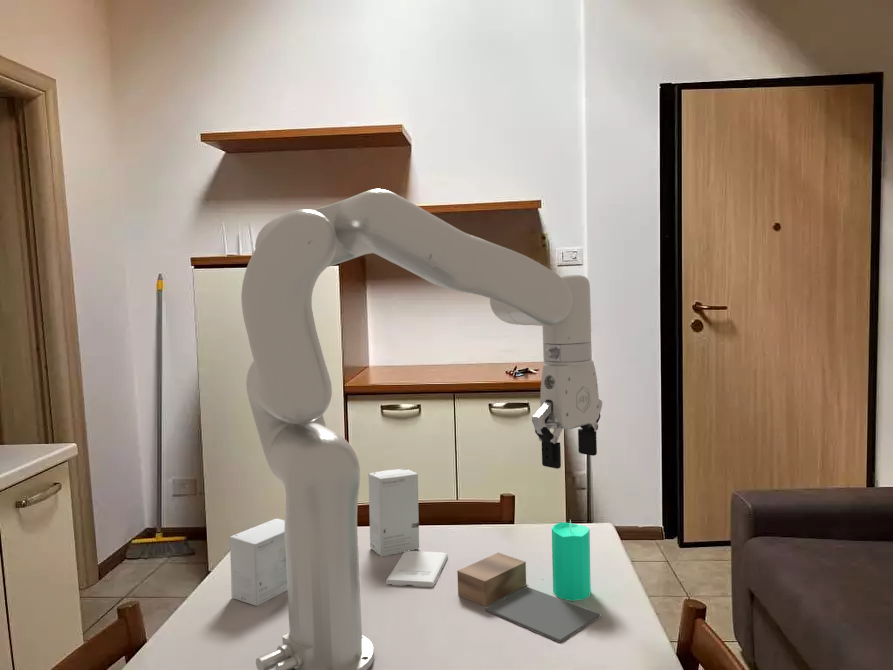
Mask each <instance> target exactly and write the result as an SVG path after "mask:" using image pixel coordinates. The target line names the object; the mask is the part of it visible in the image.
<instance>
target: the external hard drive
mask: <svg viewBox="0 0 893 670" xmlns="http://www.w3.org/2000/svg"><path fill="white" fill-rule="evenodd" d="M447 560H448V553H447V552H440V551H439V552H438V551H422V550H420V551H419V550H410V551H405V552H403V554H402V556H401V557H400V558H399V560H398V562H396V564H395V566H394V568H393V569H392V571H391V572H390V574H389V575H388V577H387V578H386V580H385V581H386V584H392V585H391V586H402V585H406V586H412V585H413V587H420V586H421V587H423V588H434V587H433V586H435V585H436V582H437V581H436V580H438V579H437V578H439V577H438V576H440V575H439V574H441V573H440V572H442V571H441V570H443V569H442V568H444V566H445V564H446V562H447ZM386 584H385V585H386ZM434 584H435V585H434Z"/></svg>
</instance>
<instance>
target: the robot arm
mask: <svg viewBox="0 0 893 670" xmlns="http://www.w3.org/2000/svg"><path fill="white" fill-rule="evenodd" d="M254 244H255V246H254V248H255V249H254V251H253V253H252V255H251V257H250V259H249V261H248V264H247V266H246V269H245V272H244V276H243V280H242V285H241V293H240V294H241V311H242V316H243V321H244V322H243V323H244V327H245V330H246V334H247V337H248V342H249V347H250V351H251V355H252V358H253V361H252V363H251V364H250V366H249V369H248V371H247V375H246V384H245V385H246V393H247V397H248V401H249V405H250V410H251V413H252V416H253V419H254V423H255V427H256V429H257V430H256V431H257V433H258V436H259V440H260V441H259V442H260V444H261V447H262V450H263V453H264V456H265V459H266V460H265V461H266V462H267V464H268V467H269V468H270V470H271V471H272V474H273V475H274V476H275V477H276V478H277V479H278V481H280V483H281V484H282V485H283V486H284V488H285V513H284V520H285V527H284V531H285V554H286V569H287V589H288V590H287V603H288V605H287V606H288V609H287V610H288V625H289V626H288V627H289V632H288V633H286V634H283V635H282V644H281V645H278V646H277V648H276V650H274V651H271V652H268V653H266V654H263V655H261V656H259V657H257V658H256V659H255V666H256V669H257V670H272V669H274V668H275V670H368V669H370V667H371V666H372V664H373V663H374V660H375V648H374V644H373V642H372V641H371V640H370V639H369V638H368V637H366V636H364V635H363V631H362V629H363V627H362V626H363V625H362V612H361V611H362V607H361V606H362V605H361V603H362V602H361V582H360V578H361V577H360V560H359V559H360V558H359V557H360V556H359V542H358V541H359V539H358V538H359V537H358V503H359V493H360V485H361V484H360V483H361V467H360V463H359V458H358V456H357V454H356V451H355V449H354V447H352V445H351V444H350V443H349V442H348V440H347V439H345V438H344V437H343V436H342V435H340V434H339V433H337V432H336V431H334V430H332V429H330V428H328V427H327V425H326V422H325V418H324V414H325V413H326V411H327V410H328V408H329V405H330V403H331V400H332V394H333V388H332V382H331V378H330V374H329V370H328V368H327V365H326V361H325V358H324V354H323V351H322V350H323V349H322V347H321V342H320V339H319V336H318V335H319V334H318V332H317V327H316V323H315V317H314V312H313V306H312V305H313V303H312V300H313V292H314V287H315V285H316V282H317V281H318V279H319V277H320V275H321V274H322V273H323V272H324V271H325V270H326V269H327V268H329V267H332V266H335V265H338V264H341V263H344V262H347V261H350V260H353V259H356V258H359V257H361V256H364V255H369V254H374V255H377V256H379V257H381V258H383V259H385V260H387V261H388V262H390V263H392V264H395V265H397V266H399V267H400V268H402V269H405V270H406V271H408V272H410V273H413V274H414V275H416V276H417V277H420V278H421V279H423V280H425V281H427V282H429V283H431V284H432V285H435V286H437V287H440V288H444V289H447V290H450V291H455V292H462V293H467V294H472V295H476V296H477V295H478V296H482V297H485V298H488V299H489V305H490V308H491V310H492V313H493V314H494V315H495V316H496V318H498V319H499V320H501V321H502V322H504V323H507V324H511V325H521V326H522V325H523V326H539V327H542V348H543V349H542V351H543V352H542V353H543V365H542V371H541V380H540V381H541V383H540V398H539V399H540V404H539V407H540V408H538V410H537V411H536V412H535V414H533V415H532V416H531V422H532V425H533V427H534V432H535V434H536V435H537V436H538V441H540V443H541V465H542V466H543V467H545V468H551V469H555V470H556V469H557V470H558V469H560V468H561V466H562V460H561V459H562V455H561V452H562V451H561V450H562V449H561V442H558V441H559V439H560V435H561V433H562V431H563V429H564V430H572V429H577V428H578V429H577V437H578V439H577V442H578V447H577V448H578V449H577V450H578V453H579V454H582V455H587V456H591V457H592V456H594V457H595V456H597V454H598V451H597V449H598V447H597V443H598V442H597V431H598V429H599V424H598V423H599V421H600V419H601V410H602V407H603V401H602V400H601V399H600V396H599V386H598V377H597V371H596V367H595V362H594V360H593V359H592V356H593V354H592V348H593V347H592V321H591V320H592V315H591V312H592V311H591V286H590V281H589V279H588V277H586V276H584V275H580V274H569V275H568V274H565V275H559V274H558V273H557V272H555V271H553V270H551V268H548V267H546V266H544V265H543V264H541V263H540V262H538V261H536V260H534V259H532V258H530V257H528V256H527V255H524V254H523V253H519V252H517V251H515V250H513V249H510V248H508V247H504V246H502V245H499V244H496V243H494V242H491V241H488V240H486V239H484V238H481V237H478V236H475V235H472V234H470V233H467V232H464V231H462V230H461V229H459V228H457V227H455V226H453V225H452V224H450V223H448V222H446V221H444V220H443V219H441V218H440V217H438V216H436V215H435V214H432V213H431V212H429V211H428V210H425V209H423V208H422V207H420V206H418V205H416V204H414V202H411V201H409V200H408V199H406V198H404V197H403V196H401V195H399V194H397V193H395V192H393V191H390V190H387V189H383V188H382V189H381V188H373V189H368V190H367V191H363V192H360V193H358V194H356V195H353V196H351V197H348V198H346V199H342V200H340V201H337V202H334V203H331V204H329V205H325V206H322V207H318V208H315V209H314V208H313V209H307V208H306V209H304V208H303V209H296V210H293V211H289V212H287V213H284V214H282V215H280V216H279V217H276V218H274V219H272V220H270V221H269V222H267V223H266V224H265V225H264V226H263V227H262V228H261V229H260V231H259V232H258V234H257V237H256V239H255V243H254ZM579 427H580V428H579ZM551 429H552V430H553V431H551Z"/></svg>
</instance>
